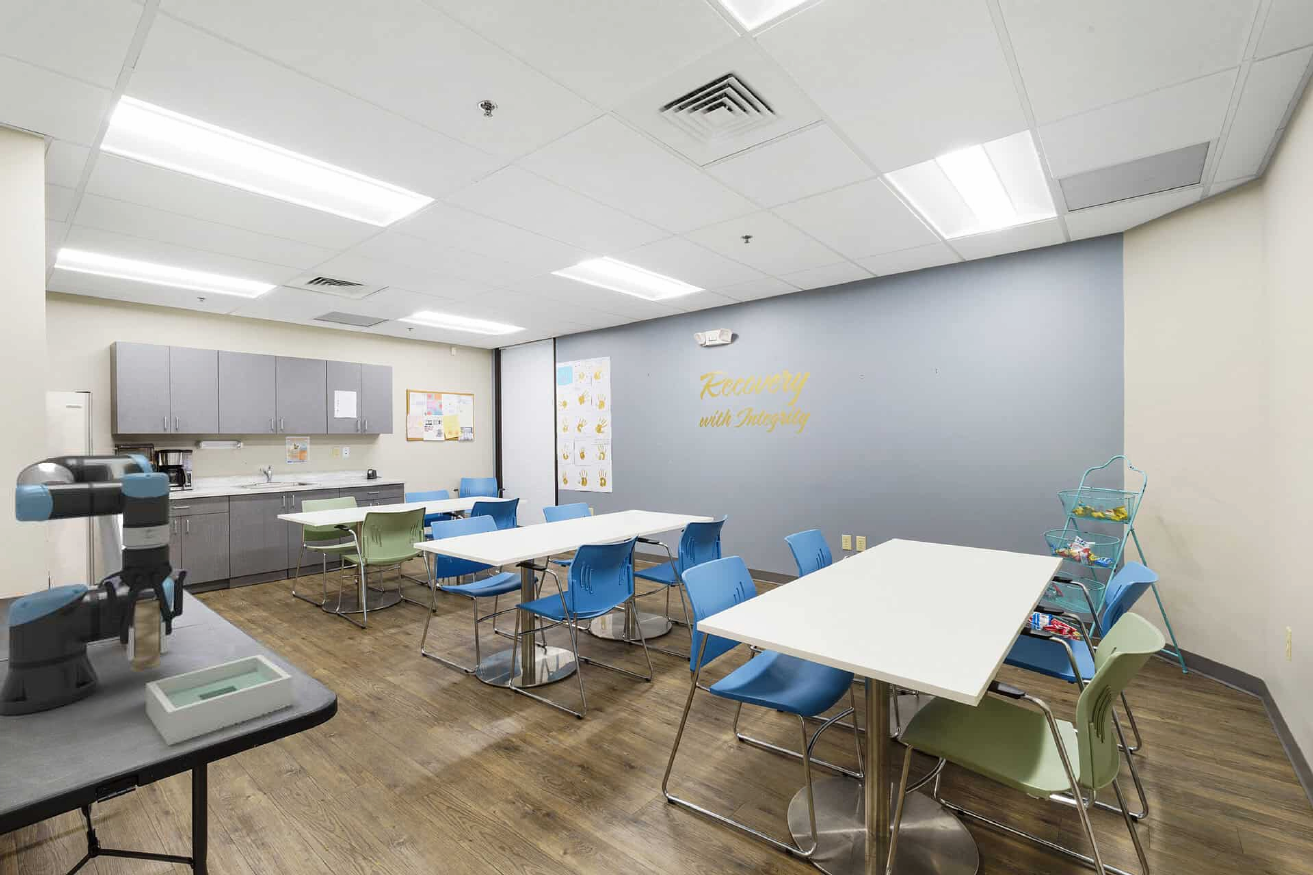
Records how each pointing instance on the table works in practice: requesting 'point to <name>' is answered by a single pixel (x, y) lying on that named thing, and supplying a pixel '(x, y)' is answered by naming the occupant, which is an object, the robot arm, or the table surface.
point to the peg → (146, 634)
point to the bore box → (216, 697)
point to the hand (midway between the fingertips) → (146, 654)
